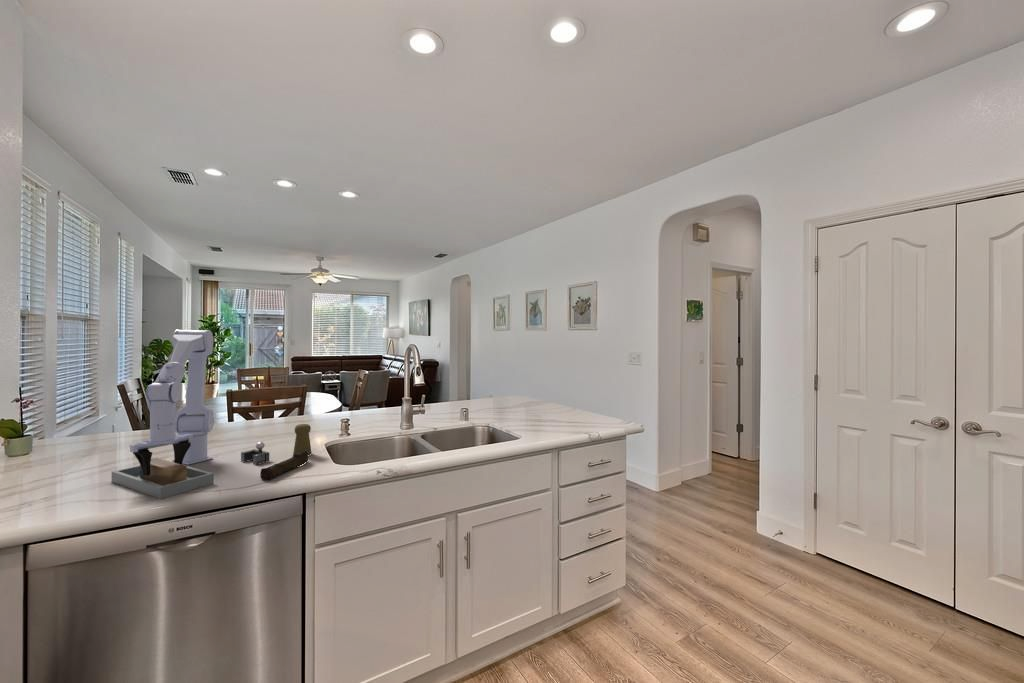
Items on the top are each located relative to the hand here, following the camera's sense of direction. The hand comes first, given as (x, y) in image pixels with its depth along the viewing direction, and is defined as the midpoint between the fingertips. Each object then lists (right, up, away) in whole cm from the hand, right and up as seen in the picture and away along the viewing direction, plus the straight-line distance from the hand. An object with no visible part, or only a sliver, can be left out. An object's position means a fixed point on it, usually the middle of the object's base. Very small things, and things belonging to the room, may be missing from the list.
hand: (162, 471), depth 122 cm
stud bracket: (+14, -3, +22) cm, 26 cm away
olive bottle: (+25, -4, +30) cm, 39 cm away
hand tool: (+29, -4, +13) cm, 32 cm away
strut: (0, -3, 0) cm, 3 cm away
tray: (0, -3, 0) cm, 3 cm away
